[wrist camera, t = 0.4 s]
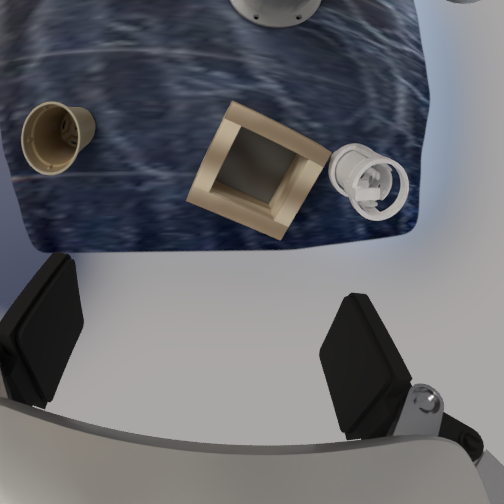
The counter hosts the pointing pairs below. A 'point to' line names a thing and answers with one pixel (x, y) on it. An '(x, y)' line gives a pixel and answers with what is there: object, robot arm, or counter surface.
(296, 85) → the counter surface
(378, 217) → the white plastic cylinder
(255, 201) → the beech holder block
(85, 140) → the flower pot
